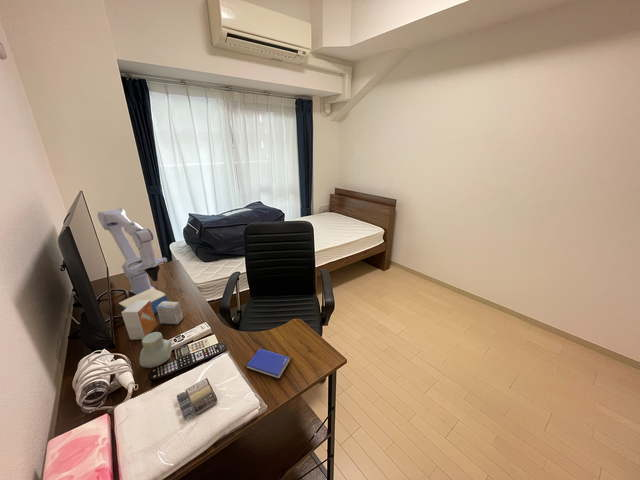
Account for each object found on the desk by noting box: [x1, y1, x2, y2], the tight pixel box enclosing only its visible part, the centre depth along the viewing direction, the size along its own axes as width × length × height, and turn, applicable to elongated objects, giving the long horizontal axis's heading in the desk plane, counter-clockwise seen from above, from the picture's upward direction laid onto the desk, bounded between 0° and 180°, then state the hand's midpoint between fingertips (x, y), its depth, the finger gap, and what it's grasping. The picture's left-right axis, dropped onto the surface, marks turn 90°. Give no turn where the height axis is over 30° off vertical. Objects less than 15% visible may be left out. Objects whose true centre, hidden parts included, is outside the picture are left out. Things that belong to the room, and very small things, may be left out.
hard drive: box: [246, 348, 291, 379], centre depth 88 cm, size 2×8×12 cm
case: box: [121, 295, 169, 314], centre depth 116 cm, size 14×12×6 cm
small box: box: [121, 300, 158, 341], centre depth 101 cm, size 8×6×13 cm
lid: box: [118, 287, 167, 308], centre depth 115 cm, size 14×12×1 cm
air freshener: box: [139, 331, 173, 369], centre depth 88 cm, size 11×8×10 cm
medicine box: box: [156, 301, 184, 325], centre depth 108 cm, size 8×4×9 cm, turn 84°
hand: (155, 280), depth 122 cm, fingers closed
